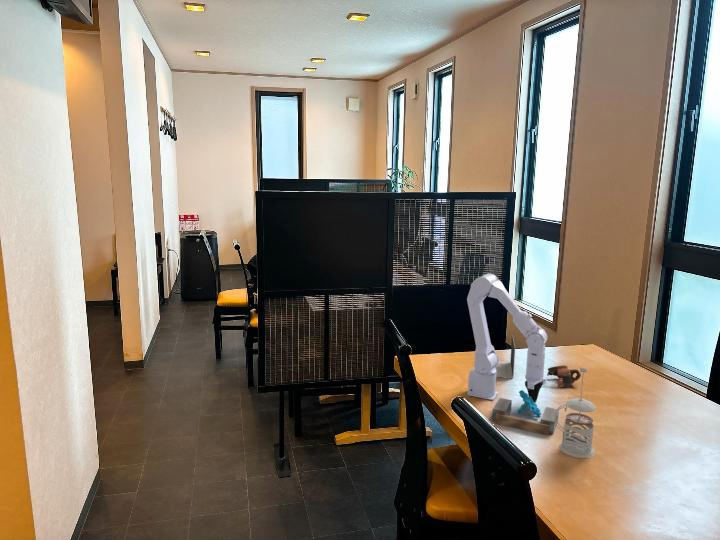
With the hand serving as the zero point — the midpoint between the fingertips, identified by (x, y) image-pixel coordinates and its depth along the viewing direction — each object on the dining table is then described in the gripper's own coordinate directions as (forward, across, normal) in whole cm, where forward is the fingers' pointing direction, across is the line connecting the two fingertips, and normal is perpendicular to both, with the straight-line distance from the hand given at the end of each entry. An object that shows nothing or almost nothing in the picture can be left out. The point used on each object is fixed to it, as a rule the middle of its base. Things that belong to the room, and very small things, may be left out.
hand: (532, 401), depth 181 cm
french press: (+2, -25, -16) cm, 30 cm away
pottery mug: (+2, +27, -7) cm, 28 cm away
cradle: (+1, -14, 0) cm, 14 cm away
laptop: (+2, +29, +19) cm, 35 cm away
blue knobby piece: (+2, -7, 0) cm, 7 cm away
